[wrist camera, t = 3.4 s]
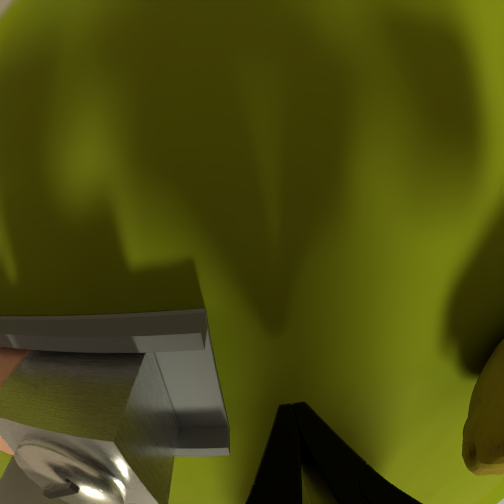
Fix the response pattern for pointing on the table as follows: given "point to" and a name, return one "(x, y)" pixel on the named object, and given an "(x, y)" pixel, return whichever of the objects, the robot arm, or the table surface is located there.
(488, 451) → the lemon
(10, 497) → the can
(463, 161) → the table surface
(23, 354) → the block
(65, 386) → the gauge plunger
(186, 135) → the table surface
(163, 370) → the gauge bench
